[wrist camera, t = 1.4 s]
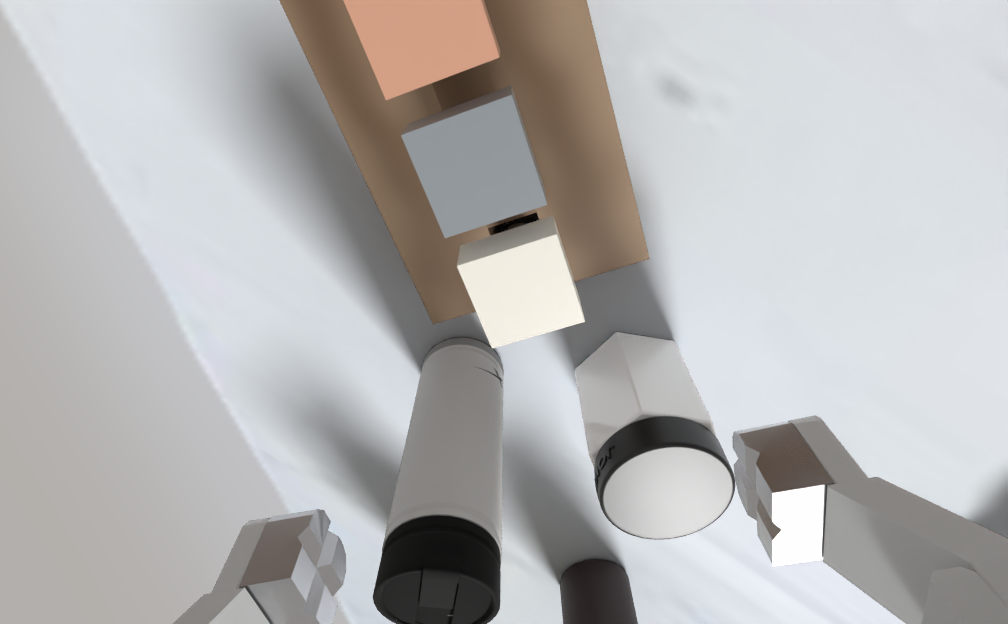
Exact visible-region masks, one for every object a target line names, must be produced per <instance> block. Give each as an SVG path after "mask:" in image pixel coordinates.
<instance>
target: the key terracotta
mask: <svg viewBox="0 0 1008 624" xmlns="http://www.w3.org/2000/svg"><path fill="white" fill-rule="evenodd" d="M343 1H344V3H345V5H346V8H347V10H348V13H349V15H350V17H351V20H352V22H353V24H354V27H355V29H356V31H357V34H358V36H359V38H360V41H361V43H362V45H363V48H364V50H365V52H366V55H367V57H368V59H369V62H370V64H371V66H372V69H373V71H374V73H375V76H376V78H377V80H378V83H379V85H380V87H381V90H382V92H383V95H384V97H385V99H386V100H388V99H391V98H394V97H396V96H399V95H402V94H404V93H407V92H410V91H412V90H415V89H417V88H420V87H423V86H425V85H428V84H431V83H433V82H436V81H439V80H441V79H444V78H447V77H449V76H452V75H455V74H457V73H460V72H462V71H465V70H468V69H470V68H473V67H476V66H478V65H481V64H484V63H486V62H489V61H492V60H494V59H497V58H499V57H500V48H499V45H498V42H497V39H496V36H495V33H494V30H493V27H492V24H491V20H490V17H489V14H488V11H487V8H486V5H485V2H484V0H343Z"/></svg>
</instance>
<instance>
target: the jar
mask: <svg viewBox="0 0 1008 624" xmlns="http://www.w3.org/2000/svg"><path fill="white" fill-rule="evenodd" d="M575 377H576V383H577V388H578V394H579V400H580V406H581V412H582V418H583V423H584V429H585V435H586V441H587V446H588V452H589V456H590V458H591V461H592V463H593V466H594V472H595V486H596V492H597V495H598V499H599V502H600V506H601V508H602V511H603V513H604V514H605V516H606V518H607V519H608V520H609V521H610V522H611V523H612V524H613V525H614V526H616V527H617V528H619V529H620V530H622V531H624V532H626V533H628V534H631V535H633V536H637V537H641V538H647V539H671V538H677V537H682V536H686V535H689V534H692V533H694V532H697V531H699V530H701V529H703V528H705V527H707V526H708V525H710V524H711V523H713V522H714V521H715V520H717V519H718V518H719V517H720V516H721V515H722V514H723V513H724V512H725V510H726V509H727V507H728V506H729V504H730V502H731V500H732V498H733V495H734V491H735V478H734V474H733V471H732V469H731V466H730V464H729V462H728V460H727V458H726V456H725V454H724V451H723V449H722V447H721V445H720V443H719V441H718V439H717V438H716V435H715V430H714V426H713V422H712V420H711V418H710V415H709V413H708V411H707V409H706V407H705V405H704V403H703V400H702V398H701V396H700V394H699V392H698V390H697V388H696V386H695V383H694V381H693V379H692V377H691V375H690V373H689V371H688V368H687V366H686V364H685V362H684V360H683V358H682V356H681V354H680V351H679V349H678V347H677V345H676V343H675V342H674V341H672V340H665V339H659V338H652V337H646V336H640V335H633V334H627V333H621V332H616V333H614V334H613V335H612V336H611V337H610V338H609V339H608V340H607V341H606V342H605V343H603V344H602V345H601V346H600V347H599V348H598V349H597V350H596V351H595V352H593V353H592V354H591V355H590V356H589V357H588V358H587V359H586V360H585V361H584V362H582V363H581V364H580V365H579V366H578V367H577V368H576V369H575Z"/></svg>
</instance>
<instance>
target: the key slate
mask: <svg viewBox="0 0 1008 624" xmlns="http://www.w3.org/2000/svg"><path fill="white" fill-rule="evenodd" d="M401 137H402V139H403V141H404V144H405V146H406V148H407V151H408V153H409V155H410V158H411V160H412V162H413V165H414V167H415V169H416V172H417V174H418V177H419V179H420V181H421V184H422V186H423V188H424V191H425V193H426V195H427V198H428V200H429V202H430V205H431V207H432V209H433V212H434V214H435V216H436V219H437V221H438V223H439V226H440V228H441V230H442V233H443V235H444V237H445V238H448V237H451V236H454V235H457V234H460V233H463V232H466V231H469V230H472V229H475V228H478V227H481V226H484V225H487V224H491V223H494V222H497V221H500V220H503V219H506V218H509V217H512V216H515V215H518V214H521V213H524V212H527V211H530V210H533V209H536V208H539V207H542V206H545V205H547V200H546V195H545V189H544V185H543V182H542V179H541V176H540V173H539V170H538V167H537V164H536V161H535V157H534V154H533V151H532V148H531V145H530V142H529V139H528V136H527V133H526V129H525V126H524V123H523V120H522V117H521V114H520V111H519V108H518V105H517V101H516V98H515V95H514V92H513V89H512V86H509V87H506V88H503V89H500V90H498V91H495V92H492V93H490V94H487V95H484V96H481V97H479V98H476V99H473V100H471V101H468V102H465V103H462V104H460V105H457V106H454V107H452V108H449V109H446V110H443V111H441V112H438V113H435V114H433V115H430V116H427V117H424V118H422V119H419V120H416V121H414V122H411V123H409V124H408V126H407V127H406V129H405V130H404V132H403V133H402V134H401Z"/></svg>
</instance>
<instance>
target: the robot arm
mask: <svg viewBox="0 0 1008 624" xmlns="http://www.w3.org/2000/svg"><path fill="white" fill-rule="evenodd" d="M732 438H733V449H734V451H735V453H736V455H737V456H738V458H739V459H738V460H737V461H736V463H735V464H734V474H735V481H736V485H737V489H738V493H739V496H740V499H741V501H742V504H743V506H744V508H745V510H746V512H747V514H748V515H749V516H750V517H752V518H754V519H755V520H757V531H758V537H759V538H760V540H761V542H762V544H763V546H764V548H765V550H766V552H767V554H768V556H769V558H770V560H771V562H772V564H773V566H776V565H783V564H790V563H798V562H805V561H812V560H820V559H823V562H824V563H826V564H827V565H828V566H830V567H831V568H832V569H834V570H835V571H836V572H838V573H839V574H840V575H842V576H843V577H844V578H846V579H847V580H848V581H850V582H851V583H852V584H854V585H855V586H856V587H858V588H859V589H860V590H862V591H863V592H864V593H866V594H867V595H868V596H870V597H871V598H872V599H874V600H875V601H876V602H878V603H879V604H880V605H882V606H883V607H884V608H886V609H887V610H888V611H890V612H891V613H892V614H894V615H895V616H896V617H898V618H899V619H900V620H902V621H903V622H904V623H906V624H1008V538H1005V537H1003V536H1001V535H999V534H997V533H995V532H993V531H991V530H989V529H986V528H984V527H982V526H980V525H978V524H976V523H974V522H972V521H970V520H967V519H965V518H963V517H961V516H959V515H957V514H955V513H953V512H951V511H949V510H946V509H944V508H942V507H940V506H938V505H936V504H934V503H932V502H930V501H927V500H925V499H923V498H921V497H919V496H917V495H915V494H913V493H911V492H908V491H906V490H904V489H902V488H900V487H898V486H896V485H894V484H892V483H889V482H887V481H885V480H883V479H881V478H879V477H873V478H868V477H867V475H866V474H865V473H864V472H863V470H862V469H861V468H860V467H859V465H858V464H857V463H856V462H855V460H854V459H853V458H852V457H851V455H850V454H849V453H848V451H847V450H846V449H845V448H844V446H843V445H842V444H841V443H840V441H839V440H838V439H837V438H836V436H835V435H834V434H833V433H832V431H831V430H830V429H829V428H828V426H827V425H826V424H825V423H824V421H823V420H822V419H821V418H819V417H818V416H811V417H806V418H801V419H796V420H790V421H788V422H781V423H776V424H771V425H766V426H761V427H756V428H750V429H745V430H740V431H735V432H734V433H733V437H732ZM330 522H331V521H330V520H329V518H328V516H327V515H326V513H325V511H324V510H319V509H317V510H311V511H304V512H298V513H292V514H286V515H279V516H273V517H271V518H265V519H257V520H251V521H249V522H248V523H246V524H245V525H244V526H243V527H242V529H241V531H240V534H239V536H238V538H237V540H236V542H235V544H234V546H233V548H232V550H231V553H230V555H229V557H228V559H227V561H226V563H225V565H224V567H223V569H222V572H221V574H220V576H219V578H218V580H217V582H216V584H215V586H214V589H213V591H212V593H210V594H205V595H203V596H202V597H201V598H200V599H199V600H198V601H197V602H196V603H194V604H193V605H192V606H191V607H190V608H189V609H188V610H187V611H186V612H185V613H184V614H183V615H182V616H181V617H180V618H178V620H176V621H175V622H174V623H173V624H333V622H334V617H335V614H336V610H337V604H336V602H335V600H334V598H333V596H334V595H335V593H336V592H337V591H338V590H339V589H340V588H341V586H342V585H343V582H344V578H345V573H346V554H345V551H344V547H343V544H342V542H341V540H340V538H339V536H337V535H335V534H333V533H332V532H330V531H328V528H329V525H330Z"/></svg>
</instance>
